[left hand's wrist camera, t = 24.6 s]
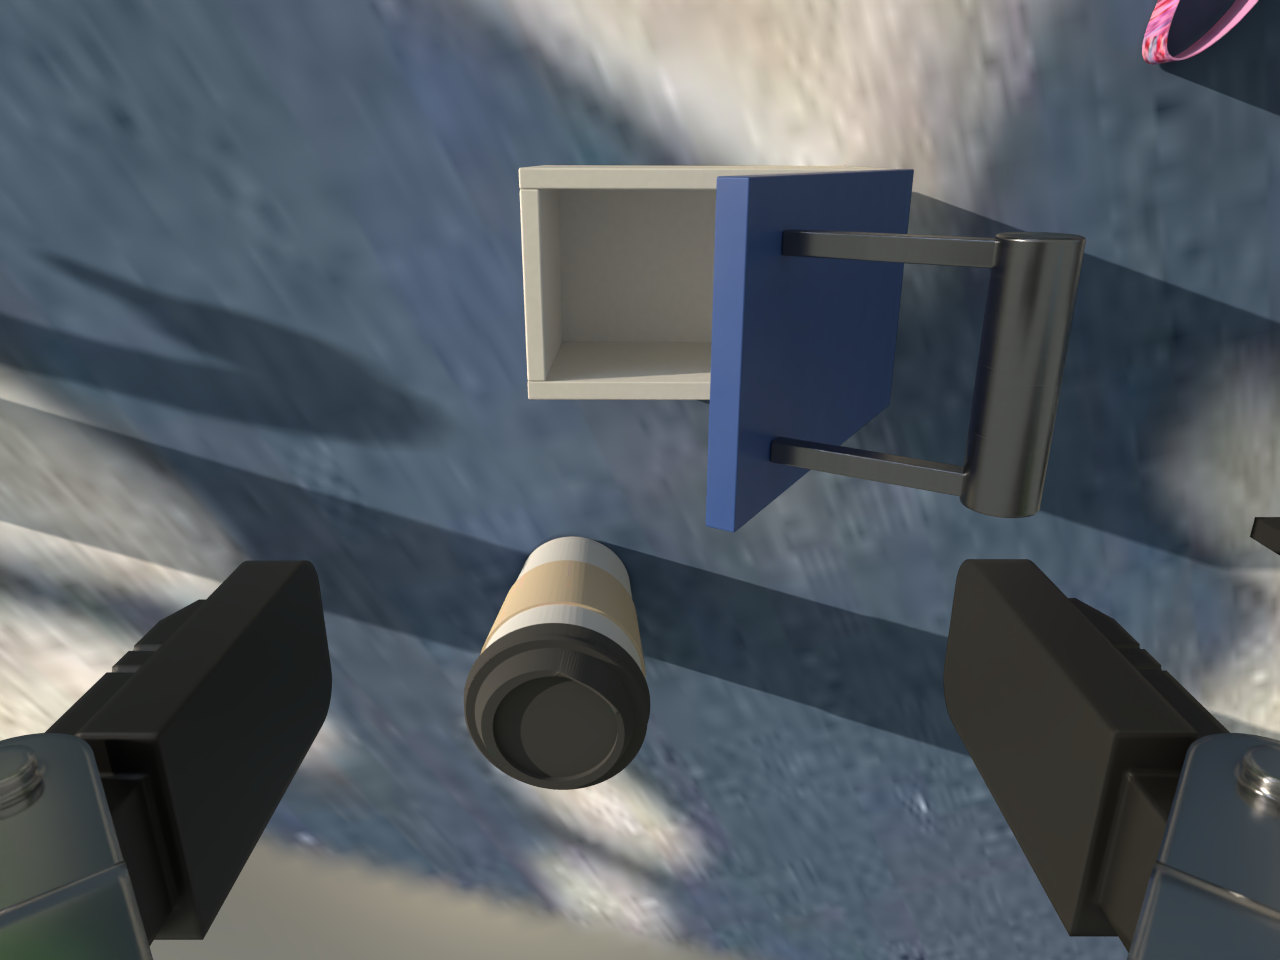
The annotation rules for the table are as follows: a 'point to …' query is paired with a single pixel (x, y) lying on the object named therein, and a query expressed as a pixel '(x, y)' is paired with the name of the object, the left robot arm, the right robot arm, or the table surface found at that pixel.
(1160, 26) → the headband
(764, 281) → the lid
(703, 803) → the table surface
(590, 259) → the chest
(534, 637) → the coffee cup
